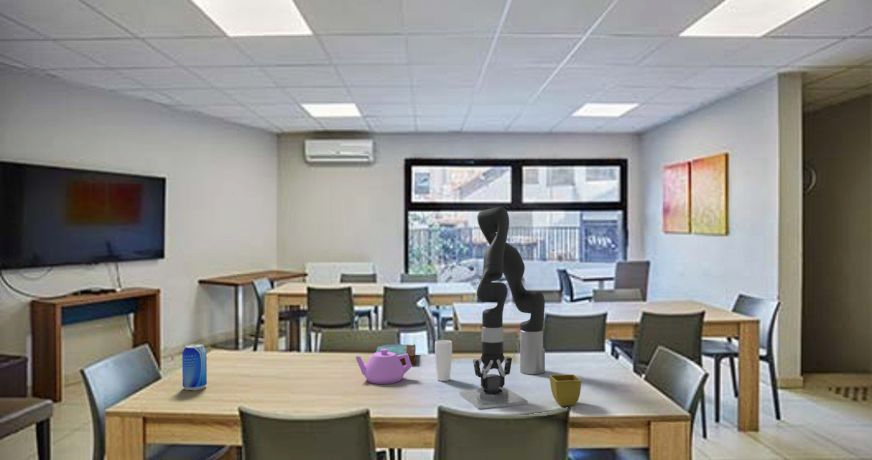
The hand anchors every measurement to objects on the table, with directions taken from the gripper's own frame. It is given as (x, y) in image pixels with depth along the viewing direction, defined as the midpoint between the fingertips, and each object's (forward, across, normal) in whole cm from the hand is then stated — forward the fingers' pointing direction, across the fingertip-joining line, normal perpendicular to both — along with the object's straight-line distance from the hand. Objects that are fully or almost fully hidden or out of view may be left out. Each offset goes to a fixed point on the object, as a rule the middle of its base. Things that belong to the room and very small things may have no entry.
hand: (492, 387), depth 211 cm
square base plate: (+4, 0, 0) cm, 4 cm away
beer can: (+4, +100, -49) cm, 111 cm away
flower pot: (+4, -21, +13) cm, 25 cm away
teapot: (+4, +30, -38) cm, 49 cm away
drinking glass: (+4, +8, -30) cm, 31 cm away
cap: (+3, 0, 0) cm, 3 cm away
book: (+5, +17, -70) cm, 72 cm away
